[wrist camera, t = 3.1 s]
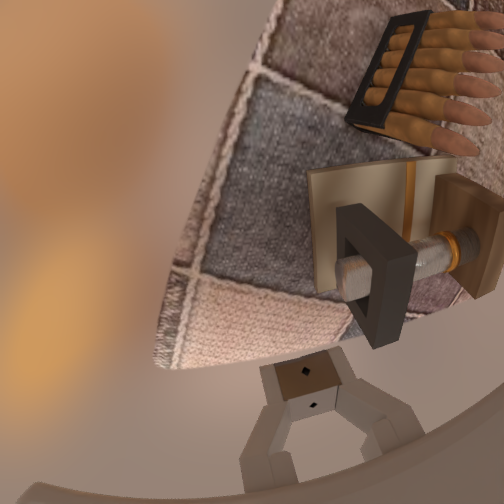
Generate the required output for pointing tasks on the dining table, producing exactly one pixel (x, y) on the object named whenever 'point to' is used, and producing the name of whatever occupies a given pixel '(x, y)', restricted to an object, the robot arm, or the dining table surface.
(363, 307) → the collar
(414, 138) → the ammunition clip
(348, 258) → the steel pipe
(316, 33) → the dining table surface
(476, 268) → the pipe stand
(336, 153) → the dining table surface
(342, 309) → the dining table surface
